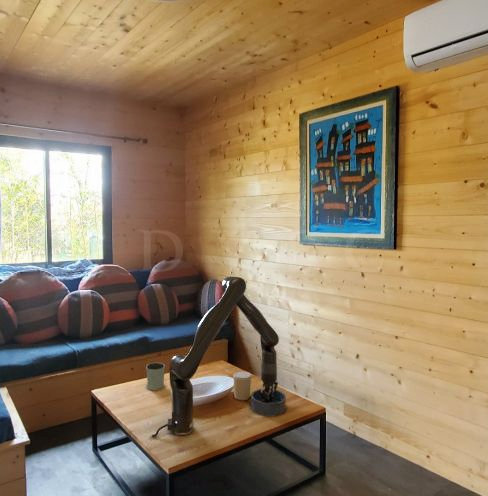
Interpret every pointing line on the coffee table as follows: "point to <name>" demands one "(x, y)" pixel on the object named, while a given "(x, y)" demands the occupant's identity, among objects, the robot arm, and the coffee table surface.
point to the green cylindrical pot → (155, 376)
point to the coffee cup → (242, 385)
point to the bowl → (268, 404)
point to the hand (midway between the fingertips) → (268, 405)
